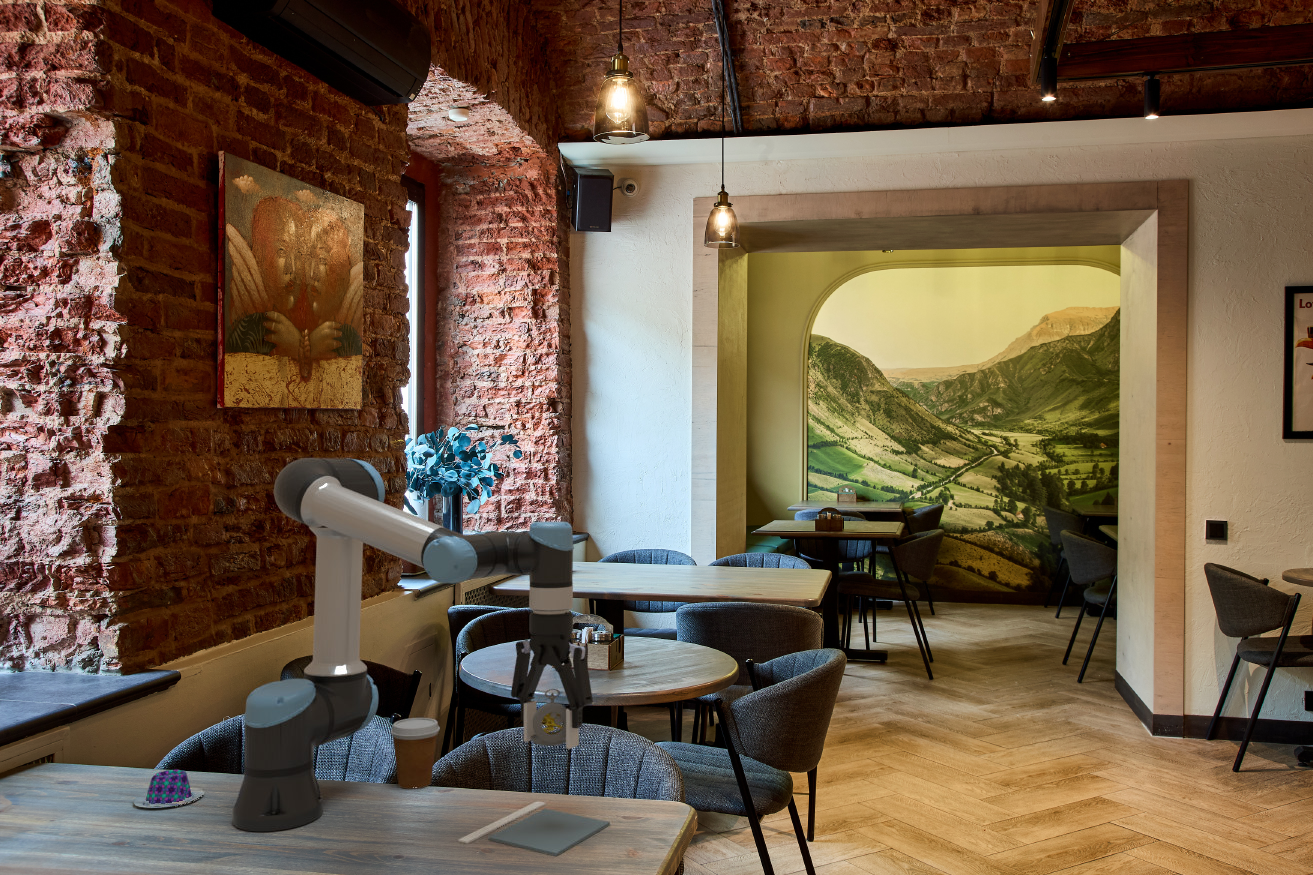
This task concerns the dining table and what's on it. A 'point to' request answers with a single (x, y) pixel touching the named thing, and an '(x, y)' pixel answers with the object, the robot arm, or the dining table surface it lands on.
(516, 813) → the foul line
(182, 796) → the purple domed brimmed part
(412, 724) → the disposable coffee cup
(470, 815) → the dining table surface
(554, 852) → the mat
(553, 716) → the pocket watch
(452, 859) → the dining table surface
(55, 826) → the dining table surface
